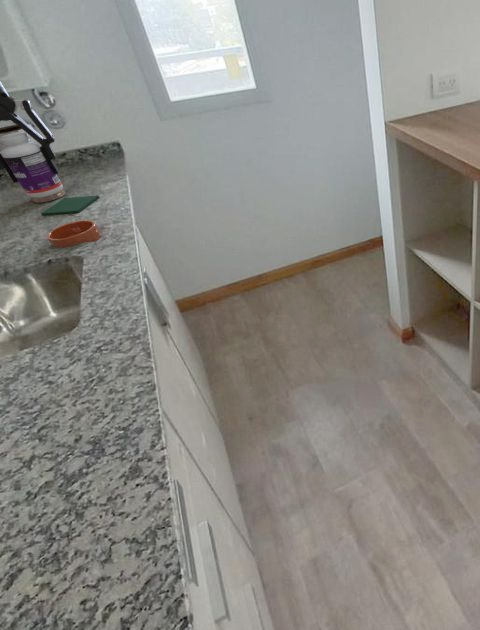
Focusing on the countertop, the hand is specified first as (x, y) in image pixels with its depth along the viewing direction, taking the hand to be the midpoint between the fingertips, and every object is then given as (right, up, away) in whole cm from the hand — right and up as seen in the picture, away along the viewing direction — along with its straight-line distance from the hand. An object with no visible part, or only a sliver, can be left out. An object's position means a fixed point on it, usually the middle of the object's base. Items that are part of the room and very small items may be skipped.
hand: (37, 176), depth 112 cm
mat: (-17, 0, +32) cm, 36 cm away
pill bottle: (0, -4, +3) cm, 5 cm away
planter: (-31, +5, +41) cm, 51 cm away
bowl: (+2, -15, +11) cm, 19 cm away
